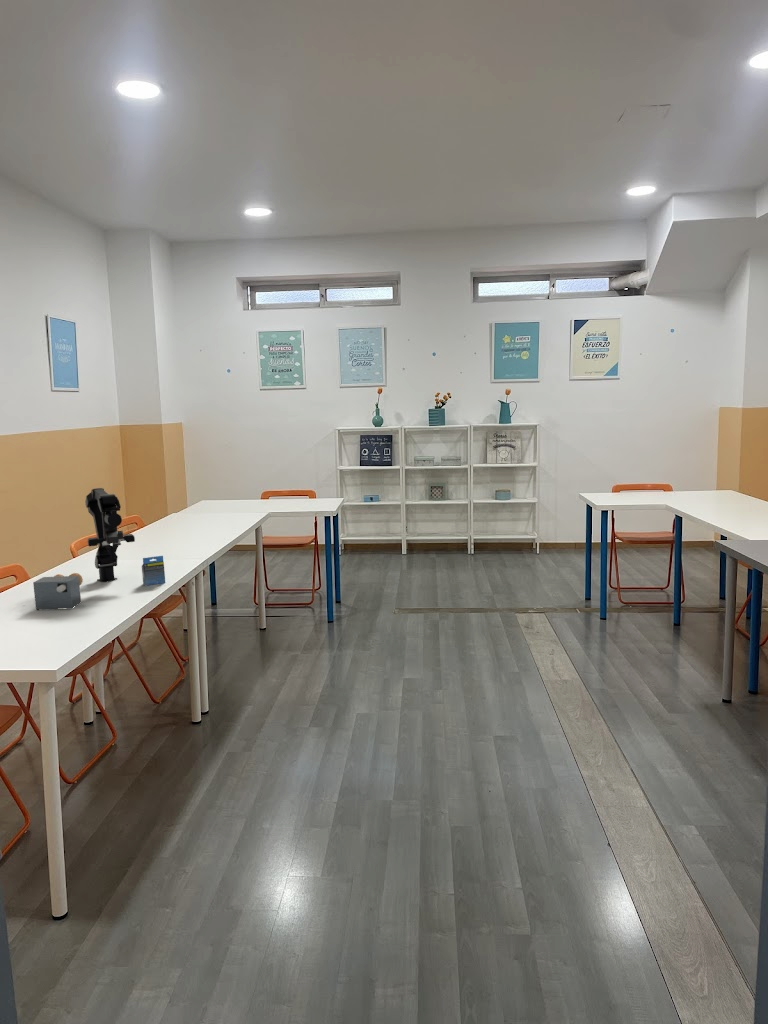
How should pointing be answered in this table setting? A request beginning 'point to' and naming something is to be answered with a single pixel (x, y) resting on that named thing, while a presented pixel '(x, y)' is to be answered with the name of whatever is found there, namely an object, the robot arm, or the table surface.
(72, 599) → the mount
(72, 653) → the table surface
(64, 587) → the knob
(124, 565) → the table surface
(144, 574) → the label tape cartridge
